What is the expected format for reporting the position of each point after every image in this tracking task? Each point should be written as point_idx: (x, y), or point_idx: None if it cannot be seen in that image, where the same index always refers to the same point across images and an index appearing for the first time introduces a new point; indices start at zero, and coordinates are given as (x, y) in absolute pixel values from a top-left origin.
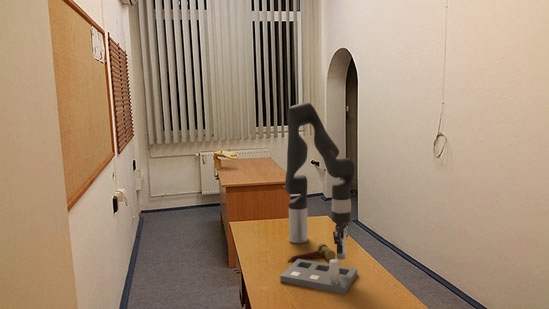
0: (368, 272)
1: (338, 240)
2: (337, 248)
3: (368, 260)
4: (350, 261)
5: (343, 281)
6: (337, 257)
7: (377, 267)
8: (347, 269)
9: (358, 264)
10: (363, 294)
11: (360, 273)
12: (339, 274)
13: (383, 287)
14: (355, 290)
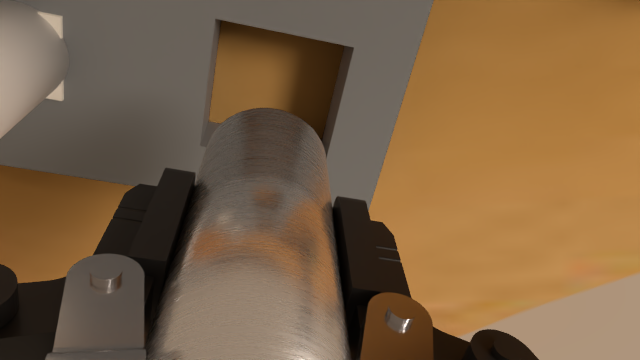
0: (405, 263)
1: (151, 334)
2: (110, 226)
3: (631, 254)
4: (627, 125)
5: (54, 134)
6: (222, 128)
7: (497, 310)
8: (328, 147)
9: (556, 191)
10: (33, 249)
11: (380, 214)
12: (194, 84)
13: None
14: (70, 198)
